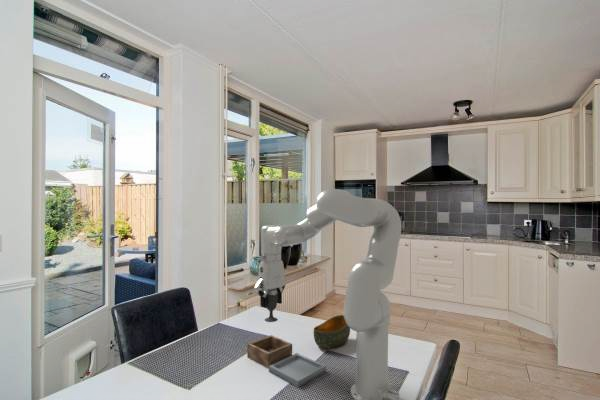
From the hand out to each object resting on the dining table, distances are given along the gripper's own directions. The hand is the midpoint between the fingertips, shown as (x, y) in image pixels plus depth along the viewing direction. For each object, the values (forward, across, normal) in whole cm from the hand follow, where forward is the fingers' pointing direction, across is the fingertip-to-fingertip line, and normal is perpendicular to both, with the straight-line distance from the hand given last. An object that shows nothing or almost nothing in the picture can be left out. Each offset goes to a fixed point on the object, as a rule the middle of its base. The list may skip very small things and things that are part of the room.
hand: (271, 304), depth 124 cm
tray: (+20, -1, -14) cm, 25 cm away
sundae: (+6, 0, 0) cm, 6 cm away
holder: (+20, 0, +1) cm, 20 cm away
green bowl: (+20, +27, -9) cm, 35 cm away
